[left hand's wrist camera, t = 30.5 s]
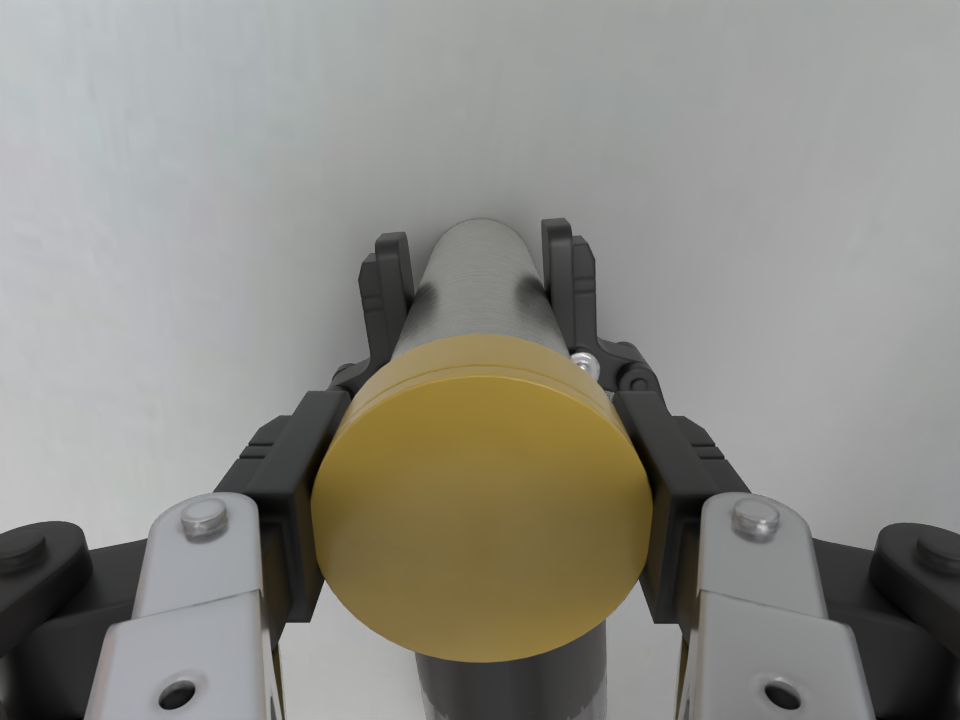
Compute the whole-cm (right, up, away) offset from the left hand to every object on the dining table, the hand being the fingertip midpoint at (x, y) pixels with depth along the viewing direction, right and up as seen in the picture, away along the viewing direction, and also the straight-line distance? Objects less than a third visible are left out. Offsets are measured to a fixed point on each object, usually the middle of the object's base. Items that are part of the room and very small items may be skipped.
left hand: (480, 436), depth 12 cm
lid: (0, -1, -2) cm, 3 cm away
